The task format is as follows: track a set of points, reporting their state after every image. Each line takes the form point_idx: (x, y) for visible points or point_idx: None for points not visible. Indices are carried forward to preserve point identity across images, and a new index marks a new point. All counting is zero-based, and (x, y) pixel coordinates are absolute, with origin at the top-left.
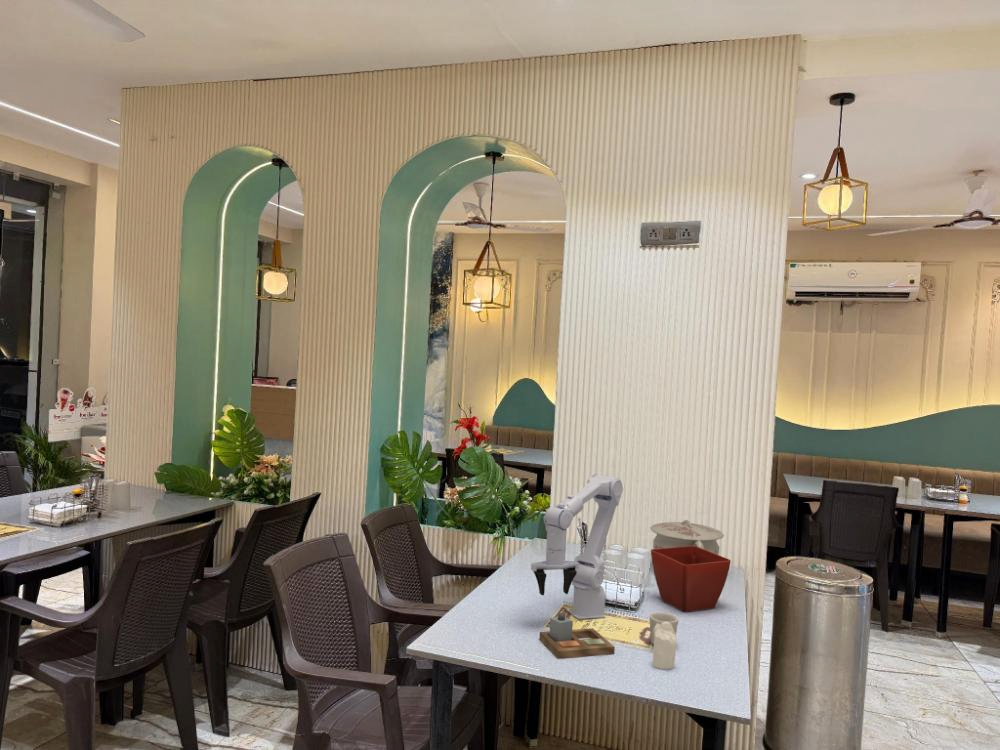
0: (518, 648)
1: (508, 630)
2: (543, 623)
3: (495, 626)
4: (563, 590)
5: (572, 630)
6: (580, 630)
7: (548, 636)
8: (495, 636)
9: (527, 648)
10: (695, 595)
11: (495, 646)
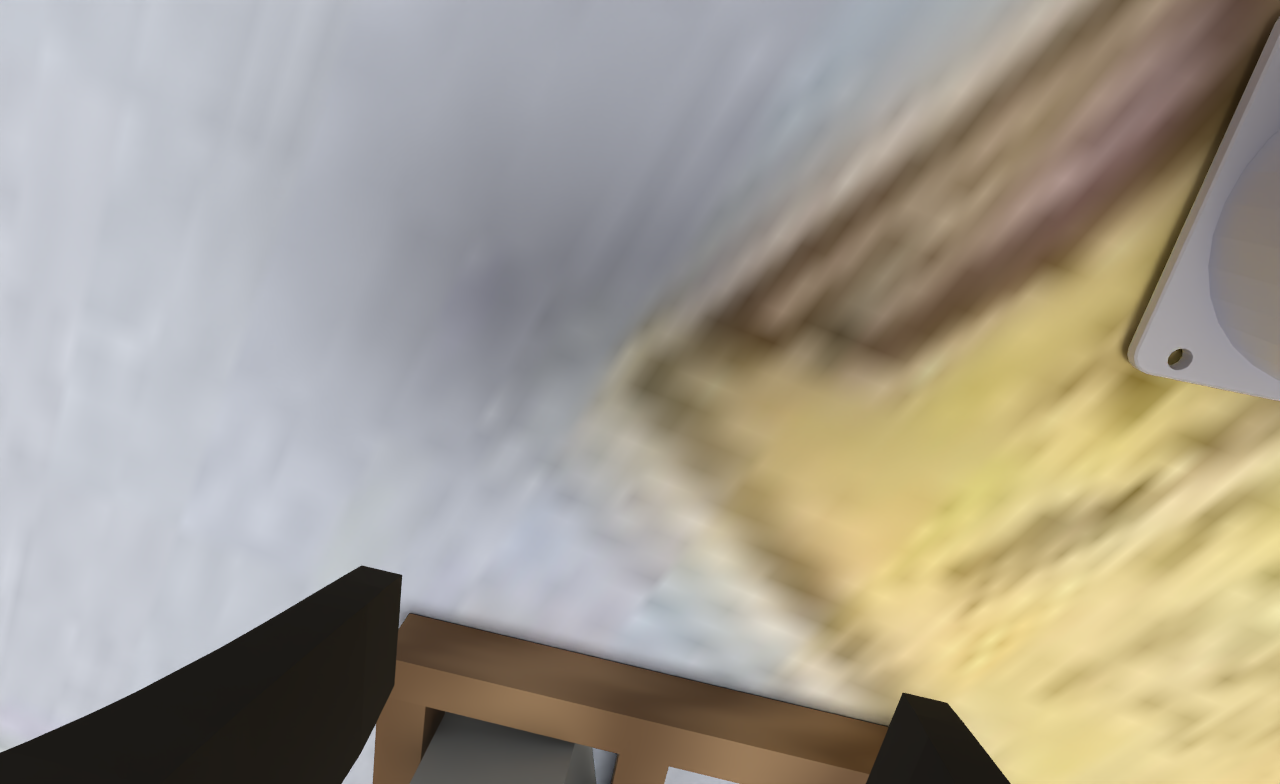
0: None
1: (206, 335)
2: (647, 304)
3: (103, 182)
4: (910, 719)
5: (700, 751)
6: (775, 780)
7: (411, 755)
8: (54, 415)
9: None
10: None
11: (19, 584)
